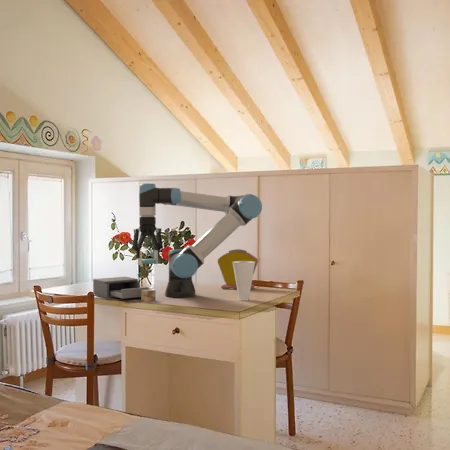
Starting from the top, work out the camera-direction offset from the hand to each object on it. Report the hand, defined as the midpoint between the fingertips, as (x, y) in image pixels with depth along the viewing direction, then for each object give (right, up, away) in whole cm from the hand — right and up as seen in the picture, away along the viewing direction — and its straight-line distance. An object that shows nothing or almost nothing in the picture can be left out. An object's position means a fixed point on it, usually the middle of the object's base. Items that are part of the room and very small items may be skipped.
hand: (147, 264), depth 259 cm
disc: (0, +1, 0) cm, 1 cm away
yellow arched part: (+43, -16, +43) cm, 63 cm away
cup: (+45, -17, +2) cm, 49 cm away
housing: (-19, -17, +20) cm, 32 cm away
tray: (-11, -16, +9) cm, 21 cm away
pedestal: (0, -17, 0) cm, 17 cm away
